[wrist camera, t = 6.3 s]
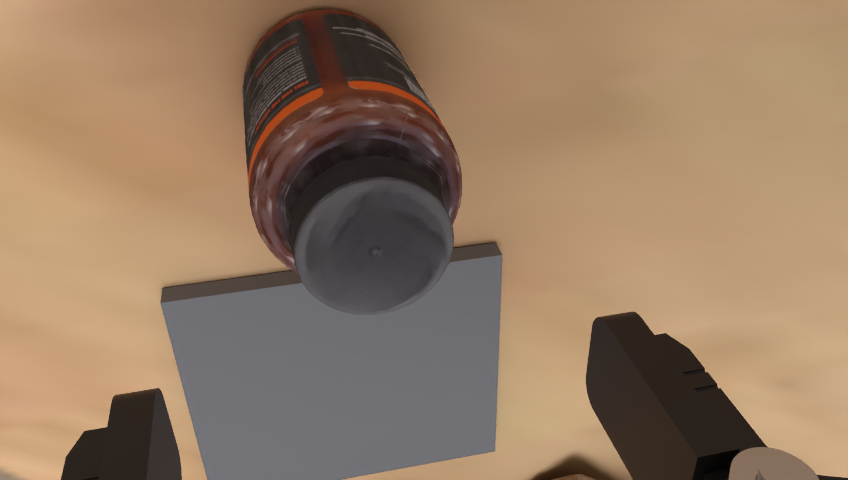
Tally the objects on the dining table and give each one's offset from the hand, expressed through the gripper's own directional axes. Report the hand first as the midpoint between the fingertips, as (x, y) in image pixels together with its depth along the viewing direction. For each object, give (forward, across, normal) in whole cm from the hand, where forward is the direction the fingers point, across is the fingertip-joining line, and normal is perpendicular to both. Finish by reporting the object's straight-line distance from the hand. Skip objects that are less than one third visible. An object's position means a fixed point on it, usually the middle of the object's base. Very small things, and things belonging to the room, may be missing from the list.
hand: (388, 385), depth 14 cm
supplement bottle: (+16, -1, 0) cm, 16 cm away
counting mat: (+16, 0, +14) cm, 21 cm away
